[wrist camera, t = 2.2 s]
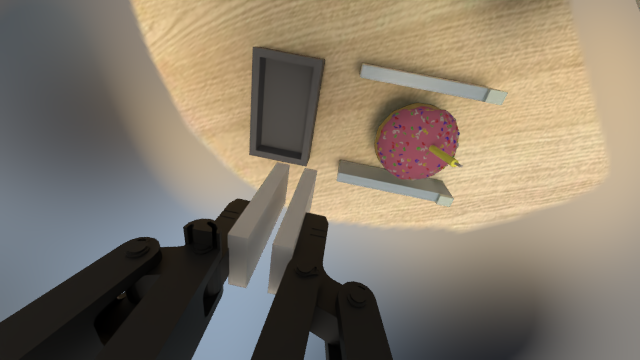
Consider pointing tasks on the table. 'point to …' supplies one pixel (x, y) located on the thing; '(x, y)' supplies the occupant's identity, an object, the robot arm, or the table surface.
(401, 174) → the cupcake
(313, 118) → the bin
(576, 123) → the table surface
